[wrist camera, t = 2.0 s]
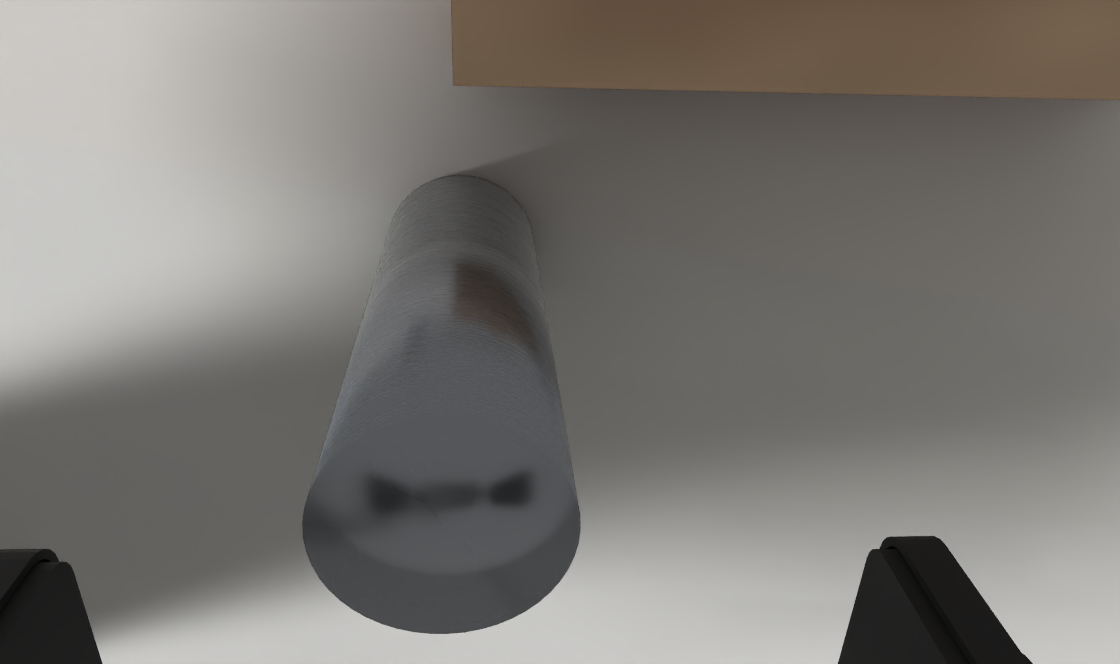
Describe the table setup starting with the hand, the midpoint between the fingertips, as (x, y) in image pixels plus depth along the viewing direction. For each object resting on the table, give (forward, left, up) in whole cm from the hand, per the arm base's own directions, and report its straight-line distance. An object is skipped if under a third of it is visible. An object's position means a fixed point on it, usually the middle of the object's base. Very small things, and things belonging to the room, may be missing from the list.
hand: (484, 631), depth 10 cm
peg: (0, +1, -14) cm, 14 cm away
